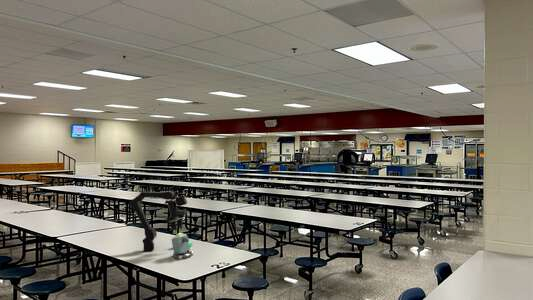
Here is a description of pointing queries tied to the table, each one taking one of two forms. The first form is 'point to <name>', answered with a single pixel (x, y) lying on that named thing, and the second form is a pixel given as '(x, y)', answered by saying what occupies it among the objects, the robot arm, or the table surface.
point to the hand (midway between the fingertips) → (178, 229)
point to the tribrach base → (183, 255)
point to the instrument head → (180, 243)
